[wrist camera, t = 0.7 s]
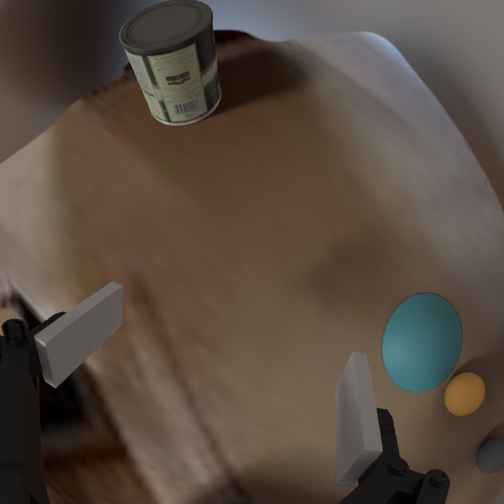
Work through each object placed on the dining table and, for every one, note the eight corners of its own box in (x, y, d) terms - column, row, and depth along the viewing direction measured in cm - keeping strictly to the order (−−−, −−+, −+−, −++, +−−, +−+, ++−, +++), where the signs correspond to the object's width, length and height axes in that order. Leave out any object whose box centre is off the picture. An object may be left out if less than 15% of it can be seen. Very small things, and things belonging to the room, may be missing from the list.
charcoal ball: (488, 463, 27) (509, 473, 22) (464, 469, 27) (485, 481, 22) (498, 431, 28) (521, 438, 23) (475, 436, 28) (498, 445, 23)
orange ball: (462, 409, 30) (487, 417, 24) (432, 412, 30) (456, 422, 24) (471, 370, 31) (497, 373, 25) (441, 370, 31) (466, 374, 25)
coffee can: (193, 64, 40) (179, -9, 26) (236, 98, 39) (232, 17, 25) (136, 100, 39) (104, 30, 25) (175, 140, 37) (146, 62, 23)
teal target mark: (452, 391, 30) (453, 391, 30) (373, 390, 31) (373, 390, 30) (465, 298, 33) (466, 298, 33) (389, 287, 33) (389, 286, 33)
